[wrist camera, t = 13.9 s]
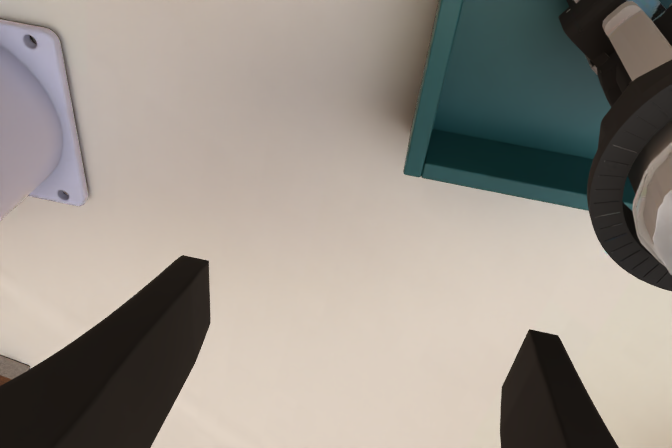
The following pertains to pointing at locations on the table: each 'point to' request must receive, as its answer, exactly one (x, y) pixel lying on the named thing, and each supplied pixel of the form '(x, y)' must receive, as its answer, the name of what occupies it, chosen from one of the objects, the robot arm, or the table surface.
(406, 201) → the table surface
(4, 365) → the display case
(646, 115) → the push button
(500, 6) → the box
